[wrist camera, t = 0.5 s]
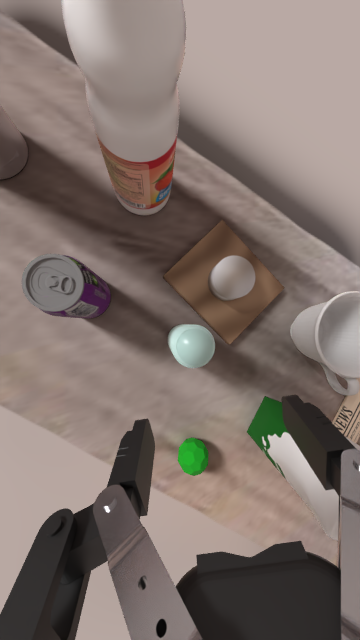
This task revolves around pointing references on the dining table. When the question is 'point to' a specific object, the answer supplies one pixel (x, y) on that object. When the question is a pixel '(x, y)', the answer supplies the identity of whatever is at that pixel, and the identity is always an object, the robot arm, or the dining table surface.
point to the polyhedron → (193, 456)
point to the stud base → (202, 297)
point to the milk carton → (294, 464)
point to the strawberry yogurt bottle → (132, 90)
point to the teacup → (332, 338)
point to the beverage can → (65, 287)
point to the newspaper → (349, 417)
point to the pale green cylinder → (191, 345)
